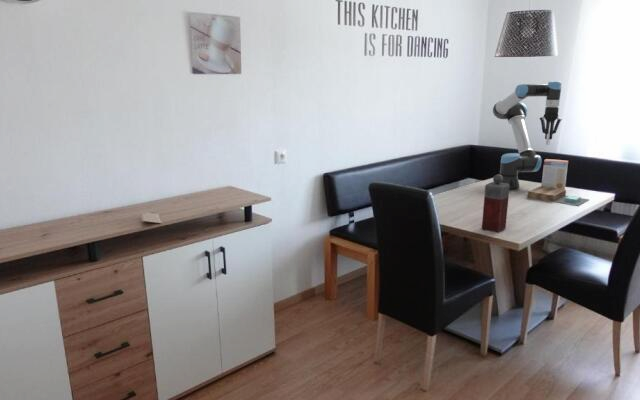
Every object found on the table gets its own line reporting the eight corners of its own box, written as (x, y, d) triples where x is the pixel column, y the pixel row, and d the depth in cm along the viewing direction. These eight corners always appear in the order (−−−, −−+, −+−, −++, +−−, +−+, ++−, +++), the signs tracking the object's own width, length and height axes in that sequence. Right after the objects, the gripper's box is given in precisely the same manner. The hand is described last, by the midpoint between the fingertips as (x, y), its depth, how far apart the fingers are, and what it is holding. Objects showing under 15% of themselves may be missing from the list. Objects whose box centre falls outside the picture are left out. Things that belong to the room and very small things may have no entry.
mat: (553, 201, 292) (553, 201, 291) (565, 196, 305) (565, 195, 305) (578, 206, 282) (578, 205, 282) (589, 199, 296) (589, 199, 296)
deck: (527, 197, 302) (528, 191, 301) (539, 192, 316) (540, 186, 315) (553, 201, 292) (554, 195, 291) (565, 196, 305) (566, 190, 304)
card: (575, 199, 287) (575, 202, 288) (580, 197, 294) (580, 200, 294) (565, 198, 292) (564, 201, 292) (570, 195, 298) (570, 198, 298)
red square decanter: (507, 227, 244) (512, 173, 237) (498, 232, 236) (503, 177, 229) (490, 223, 250) (495, 171, 243) (481, 229, 242) (485, 174, 235)
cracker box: (564, 191, 318) (568, 160, 312) (563, 193, 313) (567, 161, 307) (541, 188, 325) (545, 158, 320) (540, 190, 320) (544, 159, 315)
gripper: (539, 106, 299) (535, 144, 305) (560, 107, 290) (556, 146, 296) (543, 105, 304) (539, 142, 310) (565, 106, 295) (560, 144, 301)
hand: (547, 144), depth 303 cm, fingers closed
